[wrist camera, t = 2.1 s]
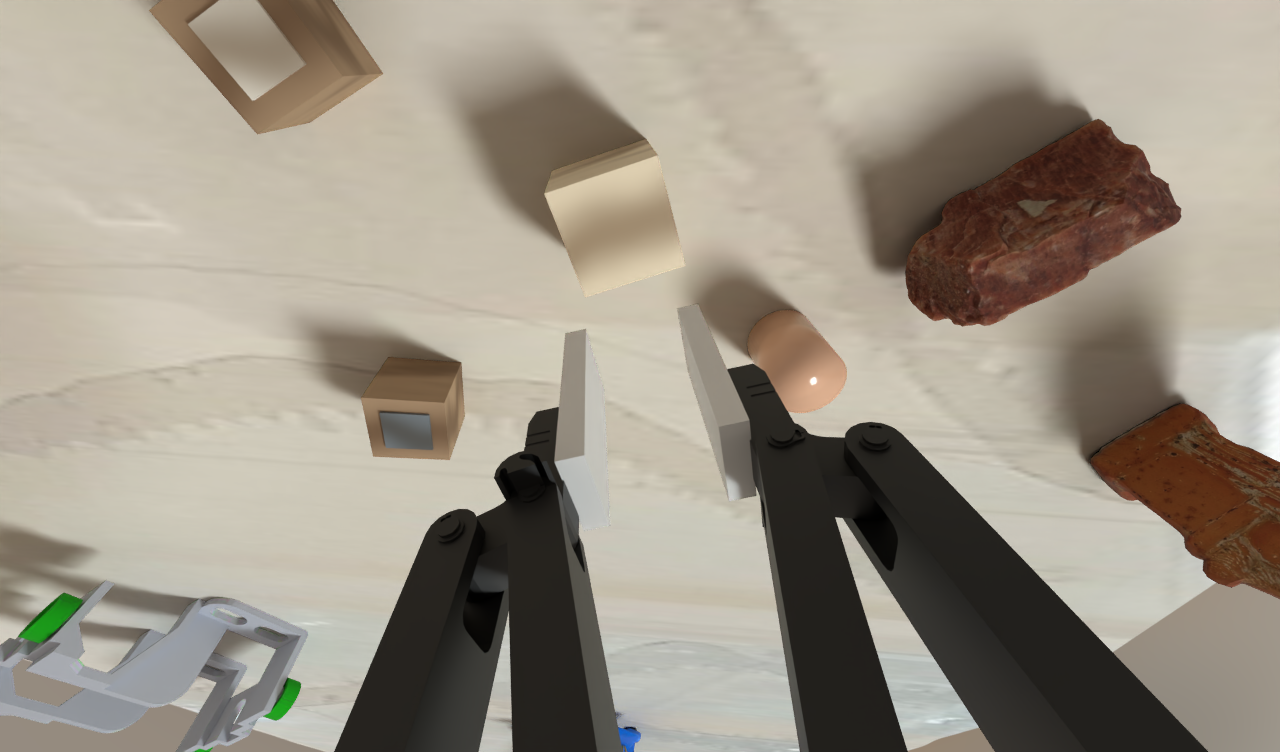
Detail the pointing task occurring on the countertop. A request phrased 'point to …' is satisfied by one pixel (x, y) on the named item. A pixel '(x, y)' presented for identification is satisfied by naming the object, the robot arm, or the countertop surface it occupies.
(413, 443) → the walnut block
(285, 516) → the countertop surface
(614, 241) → the maple block
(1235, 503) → the sculpture
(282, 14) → the walnut block
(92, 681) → the bracket
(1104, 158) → the rock
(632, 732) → the airplane toy
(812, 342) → the peach rounded cylinder
